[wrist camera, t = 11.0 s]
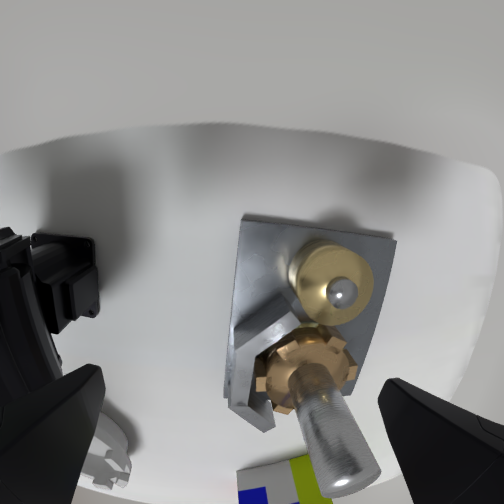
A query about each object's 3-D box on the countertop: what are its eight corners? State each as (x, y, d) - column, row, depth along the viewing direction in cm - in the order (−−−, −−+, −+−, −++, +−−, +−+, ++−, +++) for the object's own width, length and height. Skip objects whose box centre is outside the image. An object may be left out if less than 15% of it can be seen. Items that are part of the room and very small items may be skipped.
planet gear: (253, 397, 21) (271, 520, 10) (253, 324, 20) (281, 465, 8) (338, 387, 22) (392, 490, 10) (351, 316, 20) (440, 420, 9)
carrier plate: (222, 400, 23) (223, 443, 18) (241, 219, 19) (246, 231, 14) (343, 398, 24) (362, 434, 19) (390, 238, 20) (431, 254, 15)
